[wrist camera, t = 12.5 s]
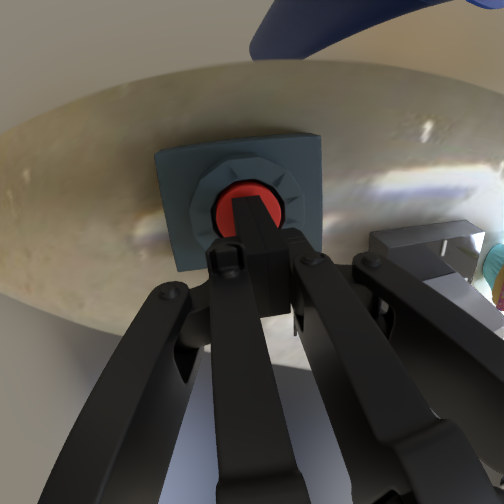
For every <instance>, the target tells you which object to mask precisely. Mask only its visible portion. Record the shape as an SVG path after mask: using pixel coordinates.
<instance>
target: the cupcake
mask: <svg viewBox="0 0 504 504" xmlns="http://www.w3.org/2000/svg"><path fill="white" fill-rule="evenodd" d="M483 276H484V277H485V279H486V280H487V282H488V284H489V286H490V288H491V290H492V296H493V298H492V300H493V302H494V304H495V305H496V308H497V309H498V310H500V311H504V245H503V244H498V245H496V246H494V247H493V248H492V249H491V251H490V252H489V254H488V255H487V257H486V259H485V262H484V265H483Z"/></svg>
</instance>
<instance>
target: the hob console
mask: <svg viewBox="0 0 504 504" xmlns="http://www.w3.org/2000/svg"><path fill="white" fill-rule="evenodd" d="M484 234H485V231H483V230H482V229H480V228H479V227H477V226H475V225H474V224H472V223H470V222H469V221H467V220H460V221H452V222H444V223H437V224H429V225H421V226H414V227H406V228H398V229H391V230H383V231H375V232H371V233H370V242H369V252H374V253H377V254H380V255H382V256H385V257H386V258H388V259H389V260H391V261H392V262H394V263H396V264H397V265H399V266H400V267H402V268H403V269H405V270H406V271H408V272H409V273H411V274H412V275H414V276H415V277H417V278H418V279H420V280H421V281H425V280H429V279H433V278H437V277H441V276H444V275H448V274H452V273H456V272H457V273H458V274H460V275H461V276H462V277H463V278H464V279H465V280H466V281H467V282H469V283H470V284H471V282H472V279H473V276H474V273H475V269H476V266H477V262H478V259H479V255H480V251H481V247H482V243H483V239H484ZM388 306H389V305H388V304H387V303H385V302H384V301H383V302H382V307H381V308H382V309H383V310H384V311H386V312H387V310H388Z"/></svg>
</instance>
